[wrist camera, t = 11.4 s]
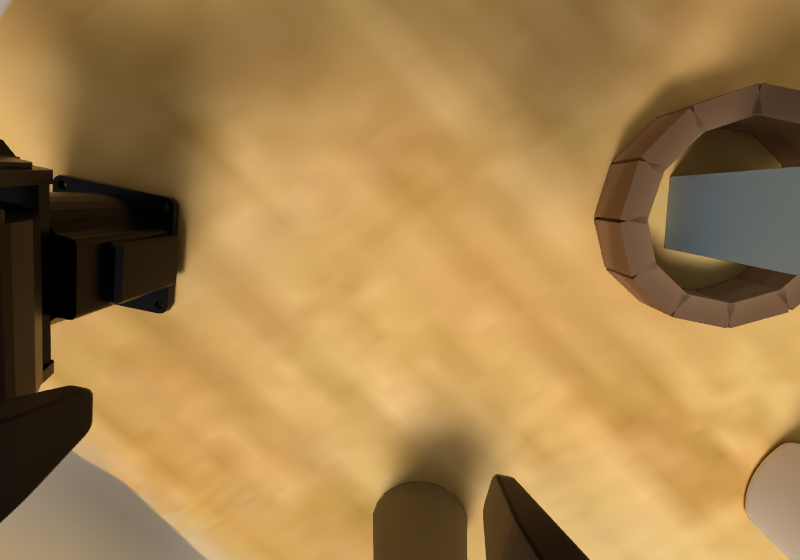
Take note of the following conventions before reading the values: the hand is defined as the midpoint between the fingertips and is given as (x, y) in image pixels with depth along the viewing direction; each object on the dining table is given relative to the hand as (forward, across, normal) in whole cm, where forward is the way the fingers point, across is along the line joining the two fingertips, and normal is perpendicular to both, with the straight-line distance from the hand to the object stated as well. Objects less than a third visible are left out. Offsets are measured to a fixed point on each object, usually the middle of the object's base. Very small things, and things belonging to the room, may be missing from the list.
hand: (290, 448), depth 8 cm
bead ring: (+13, -16, -8) cm, 22 cm away
